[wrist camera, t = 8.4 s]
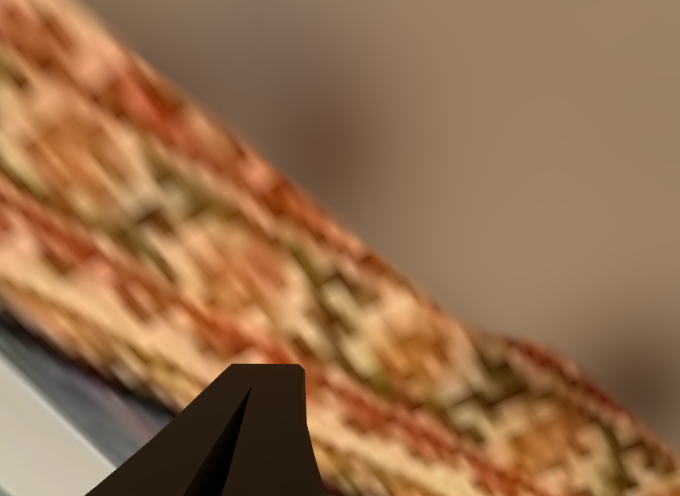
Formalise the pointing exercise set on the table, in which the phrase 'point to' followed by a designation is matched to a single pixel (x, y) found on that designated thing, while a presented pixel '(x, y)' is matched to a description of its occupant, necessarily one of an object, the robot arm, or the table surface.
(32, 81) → the table surface
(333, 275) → the table surface
